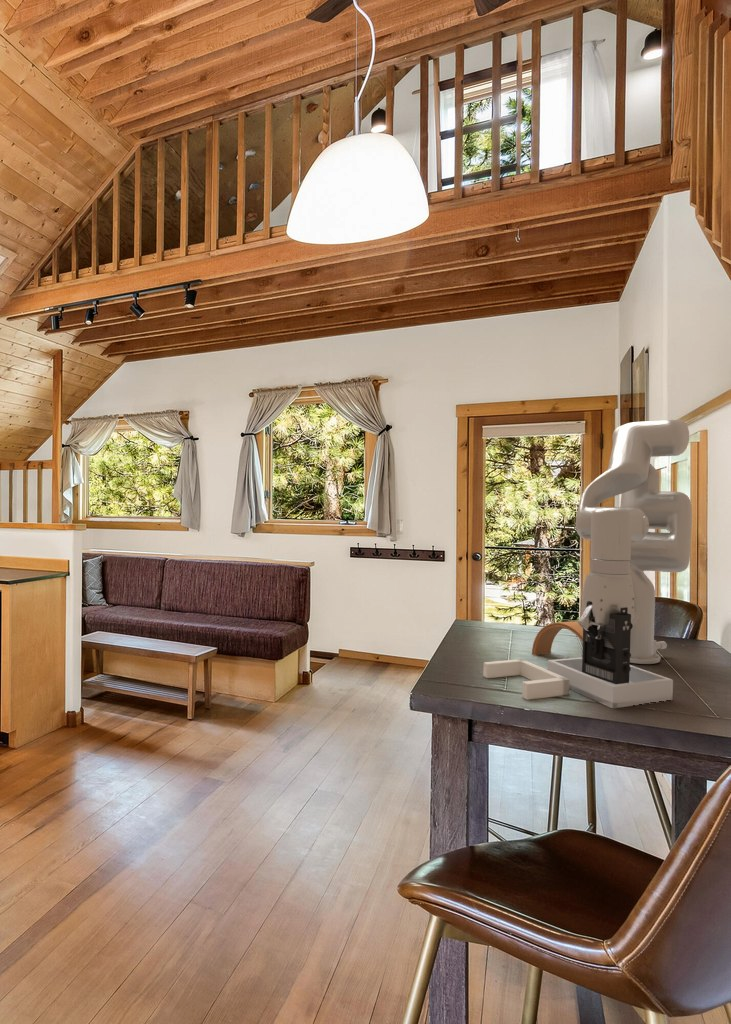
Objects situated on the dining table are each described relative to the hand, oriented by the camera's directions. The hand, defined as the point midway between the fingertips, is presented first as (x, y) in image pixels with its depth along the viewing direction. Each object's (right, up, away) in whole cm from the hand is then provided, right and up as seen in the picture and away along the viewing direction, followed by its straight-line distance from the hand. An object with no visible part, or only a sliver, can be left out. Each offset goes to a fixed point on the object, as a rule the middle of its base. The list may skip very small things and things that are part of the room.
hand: (607, 655), depth 110 cm
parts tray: (0, -7, 0) cm, 7 cm away
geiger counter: (0, -5, 0) cm, 5 cm away
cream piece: (-17, -6, +1) cm, 18 cm away
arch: (-1, -7, +18) cm, 19 cm away
